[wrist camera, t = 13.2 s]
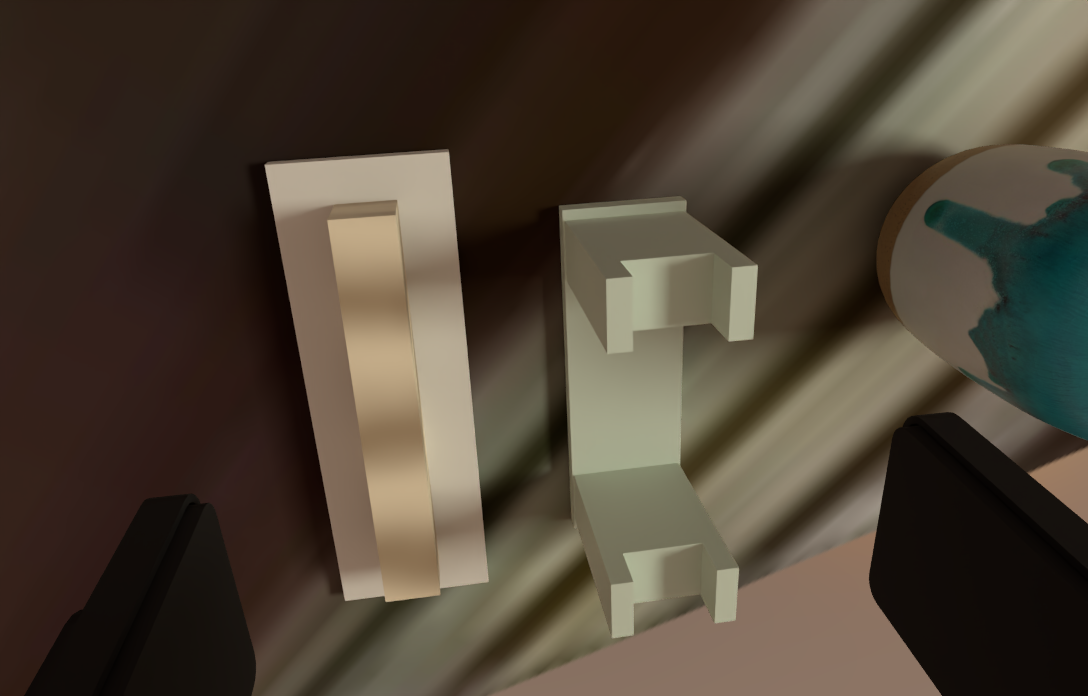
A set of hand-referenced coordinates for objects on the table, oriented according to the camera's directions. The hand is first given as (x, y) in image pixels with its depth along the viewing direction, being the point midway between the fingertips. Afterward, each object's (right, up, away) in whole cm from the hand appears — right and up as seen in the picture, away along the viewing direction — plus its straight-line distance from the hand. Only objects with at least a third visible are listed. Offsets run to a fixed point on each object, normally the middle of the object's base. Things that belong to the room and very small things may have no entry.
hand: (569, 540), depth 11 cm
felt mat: (-8, 0, +29) cm, 31 cm away
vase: (+20, +9, +31) cm, 38 cm away
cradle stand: (+4, +1, +31) cm, 31 cm away
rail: (-8, 0, +29) cm, 30 cm away
